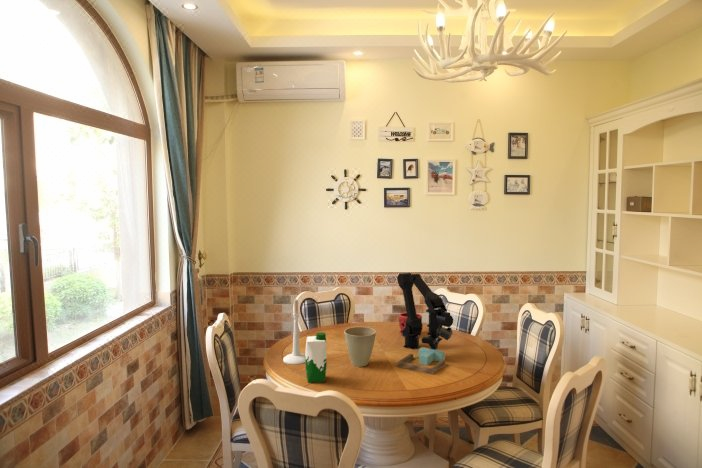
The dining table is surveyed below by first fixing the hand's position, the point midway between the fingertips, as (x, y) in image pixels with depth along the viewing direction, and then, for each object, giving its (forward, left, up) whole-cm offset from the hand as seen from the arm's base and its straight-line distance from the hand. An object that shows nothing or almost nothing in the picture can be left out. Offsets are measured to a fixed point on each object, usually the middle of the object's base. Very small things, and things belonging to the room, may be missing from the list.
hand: (434, 353), depth 223 cm
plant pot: (-25, -29, -2) cm, 39 cm away
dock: (0, -14, -2) cm, 14 cm away
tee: (0, -7, -2) cm, 8 cm away
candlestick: (-54, -41, -2) cm, 68 cm away
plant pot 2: (-26, +27, -2) cm, 37 cm away
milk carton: (-31, -55, -2) cm, 64 cm away
